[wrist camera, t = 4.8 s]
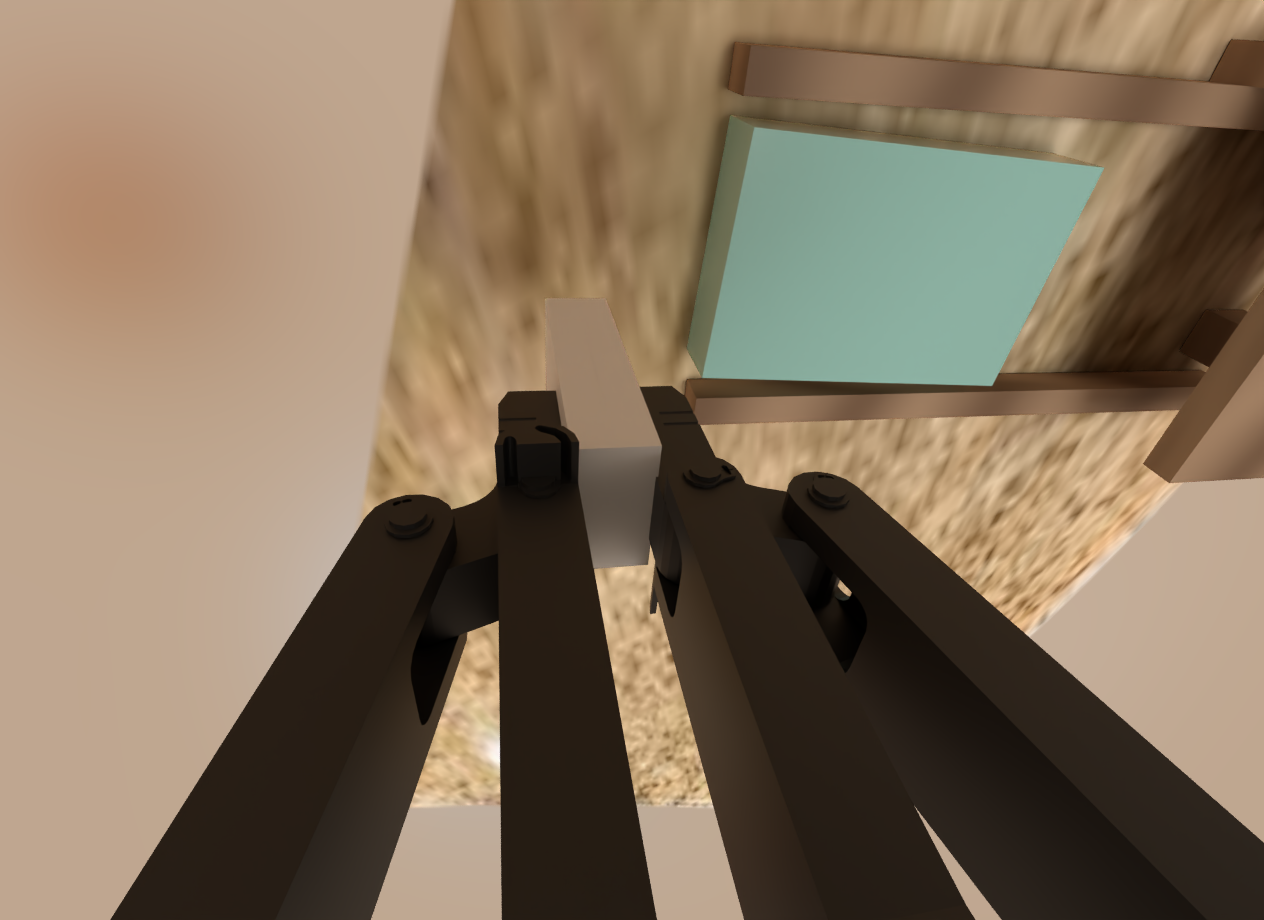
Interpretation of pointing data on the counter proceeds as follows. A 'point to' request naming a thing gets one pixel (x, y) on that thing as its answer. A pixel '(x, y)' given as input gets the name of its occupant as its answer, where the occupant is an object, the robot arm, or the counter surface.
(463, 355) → the counter surface
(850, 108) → the counter surface
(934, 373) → the tile
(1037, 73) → the overhang
